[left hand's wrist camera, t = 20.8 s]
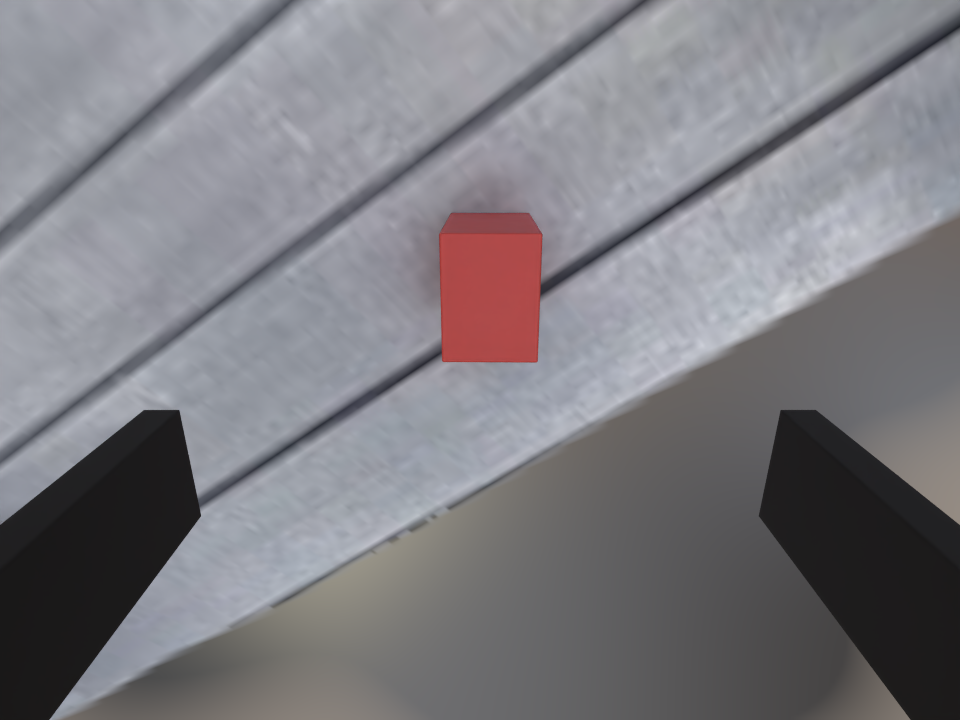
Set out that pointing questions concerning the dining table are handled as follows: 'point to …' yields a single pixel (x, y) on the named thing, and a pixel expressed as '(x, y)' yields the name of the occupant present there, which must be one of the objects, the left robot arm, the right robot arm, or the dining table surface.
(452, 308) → the block
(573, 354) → the dining table surface
